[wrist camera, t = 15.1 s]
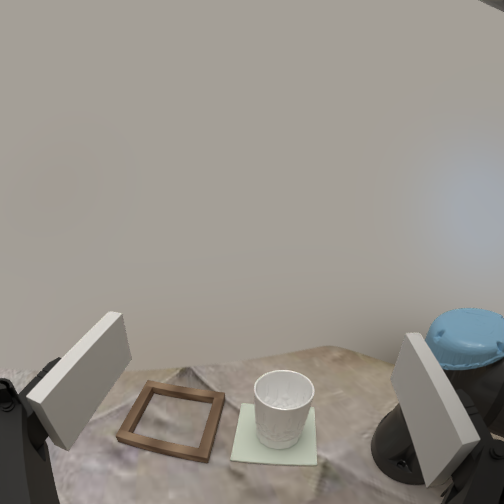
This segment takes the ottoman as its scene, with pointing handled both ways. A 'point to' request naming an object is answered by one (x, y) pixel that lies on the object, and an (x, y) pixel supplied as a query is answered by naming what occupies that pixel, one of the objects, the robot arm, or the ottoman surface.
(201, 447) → the walnut collar
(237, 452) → the sage tile
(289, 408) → the white cup
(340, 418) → the ottoman surface
